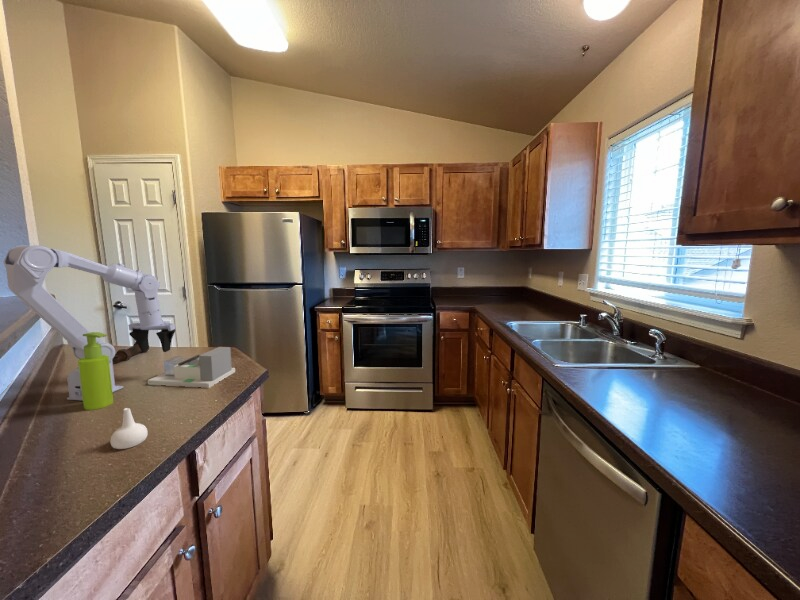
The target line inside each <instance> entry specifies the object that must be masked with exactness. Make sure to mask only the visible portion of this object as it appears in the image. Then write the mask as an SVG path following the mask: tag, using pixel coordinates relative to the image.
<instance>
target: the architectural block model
mask: <svg viewBox="0 0 800 600" xmlns="http://www.w3.org/2000/svg"><path fill="white" fill-rule="evenodd" d="M231 350H232V349H231V347H229V346H218V347H215V348H213V349H211V350H208V351H206V352H204V353H201V354H199V355H200V356H199V358H198V360H199V366H198V365H176V366H174V375H165V372H162V373H160V374H159V375H156V376H155V377H152V378H150V379H147V385H149V386H161V385H166V386H167V387H179V386H185V387H184V388H186V387H187V388H198V387H201V388H200V389H202V388H203V389H210V388H212V387H213V386H215V385H216V384H218V383H220V382H221V381H223V380H224V378H225V379H226V378H228V377H230V376H232V375H233V374H234V373H236V367H232V352H231ZM219 381H220V382H219ZM214 384H215V385H214ZM166 386H165V387H166Z"/></svg>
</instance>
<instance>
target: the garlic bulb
mask: <svg viewBox="0 0 800 600" xmlns="http://www.w3.org/2000/svg"><path fill="white" fill-rule="evenodd" d="M132 414H133V413H132V411H131V408H129V407H125V408H123V415H122V425H121V426H119V428H117V429H116V430H115V431H114V432H113V433H112V434H111V437H110V441H109V443H110V445H111V447H112V448H113V449H116V450H124V449H126V450H127V449H130V448H132V447H133V448H134V447H136V446H138V445H140V444H142V443H143V442H144V441H145V440H146V439H147V438H148V428H147V427H146V426H145V425H144V424H143V423H138V422H135V419H134V417H133V415H132Z"/></svg>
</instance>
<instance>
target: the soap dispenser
mask: <svg viewBox="0 0 800 600" xmlns="http://www.w3.org/2000/svg"><path fill="white" fill-rule="evenodd" d="M89 332H90V331H89ZM83 336H87V345H86V346H84V347H83V348H84V357H85V358H82V359H78V361H77V362H78V364H79V372H80V380H81V388H82V396H83V400H82V403H83V409H84V410H86V411H94V410H99V409H102V408H103V409H104V408H107V407H108V406H110V405H112V404H114V394H113V393H114V392H112V383H111V374H110V365H109V356H107V355H102V350H101V344H98V343H96V337H97V338H99V339H101V338H104V337H106V336H107V334H106V333H104V332H100V331H99V332H94V331H93V332H90V333H85V334H83Z"/></svg>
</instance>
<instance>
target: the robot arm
mask: <svg viewBox="0 0 800 600" xmlns="http://www.w3.org/2000/svg"><path fill="white" fill-rule="evenodd" d="M3 264H4V268H5V270H6V271H5V272H6V280H7V286H8V289H9V290H10V291H11V292H12V294H14V295H15V297H17V298H18V299H19V300H20V301H22V302H23V303H24V304H25V305H26V306H27V307H29V309H30V310H32V311H33V312H34V313H35V314H36V315H37V316H38V317H40V318H41V319H42V320H43V321H44V322H45V323H46V324H47V325H49V326H50V328H52V329H53V330H55V332H56V333H58V334H59V336H61V337H62V338H63V339H65V340H66V342H67V344H68V346H69V347H70V348H71V349H72V352H73V355H74V357H75V358H76V359H78V360H80V359H82V358H85V357H84V348H83V347H84V346H86V345H87V336H83V334H85V333H90V331H89V330H88V329H87V328H86V327H85V326H84V325H83V324H82V323H81V322H80V321H79V320H78V319H77V318H76V317H75V316H74V315H72V313H71V312H69V311H68V310H67V309H66V308H65V307H64V306H63V305H62V304H61V303H60V302H59V301H58V300H57V299H56V298H55V297H54V296H53V295H52V294H51V293H50V292H48V291H47V289H45V288H44V287H43V284H44V282H45V279H46V276H47V275H48V273H49V272H50V271H51V270H52V269H53V268H67V267H68V268H70V269H74V270H78V271H82V272H85V273H86V272H87V273H89V274H90V273H91V274H94V275H98V276H100V277H101V278H102V279H103V281H104V282H106V283H107V284H108V283H109V284H112V285H115V286H120V287H123V288H126V289H130V290H132V291H133V292H134V296H135V297H134V298H135V302H136V309H137V314H138V319H139V322H138V323H137V322H133V323H130V324H128V325H127V326H128V330H129V331H130V332H129V336H130V337H131V338H132V339H133V340H134V341H135V342H137V344H138V345H139V347H140V349H141V351H142V352H144V351H146V350H148V351H149V349H150V344H149V332H150V331H157V332H156V333H155V334H156V335H157V337H158V339H159V341H160V344H161V348H162V352H164V353H166V352H169V351H170V350H171V347H172V346H171V345H172V341H173V336H174V335H175V332H176V324H175V323H171V322H170V323H169V322H164V320H162V313H161V308H160V302H159V301H160V300H159V296H158V290H159V288H160V286H161V282H159V281H158V278H156V277H155V275H152V274H144V273H142V270H140V269H137V270H135V269H131V268H128V267H125V266H126V265H125V264H122V263H117V264H115V263H111V264H108V265H104V264H102V263H99V262H96V261H93V260H92V259H88V258H85V257H82V256H79V255H77V254H74V253H71V252H69V251H65V250H61V249H57V248H56V249H55V248H49V247H46V246H43V245H37V244H36V245H35V244H34V245H25V244H20V245H15V246H13V247H12V248H11V249H9V250H8V252H7V254H6V256H5V258H4V260H3ZM96 343H98V344H101V350H102V355H107V356H109V365H110V374H111V383H112V392H113V393H114V392H117V391H119V390H121V389H123V388H124V386H123V385H116V383H115V374H114V372H115V371H114V363H113V362H112V359H113V358H114V356H115V354H116V349H115V347H114V346H113V345H112V343H109V342H106V341H105V342H104V340H101V338H97V337H96ZM77 365H78V366H77V368H75V369H74V370H72V371H71V372H69V373H68V375H67V378H66V379H67V389H68V396H69V397H66V399H67V400H69V401H83V396H82V388H81V380H80V372H79V363H78V364H77Z"/></svg>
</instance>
